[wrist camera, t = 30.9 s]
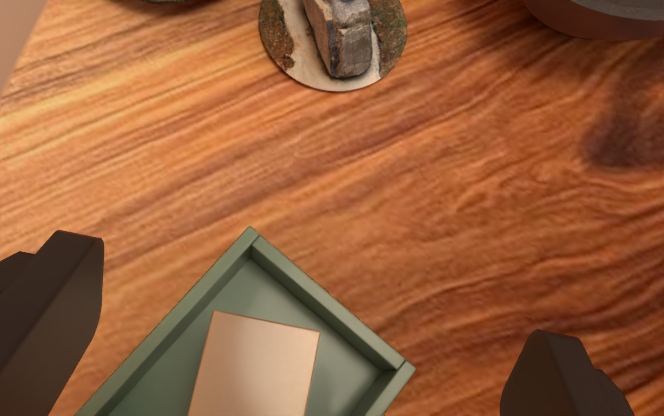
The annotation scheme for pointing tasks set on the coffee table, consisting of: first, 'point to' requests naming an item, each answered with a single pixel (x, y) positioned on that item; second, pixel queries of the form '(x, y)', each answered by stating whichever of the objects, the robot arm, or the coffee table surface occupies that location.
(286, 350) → the eraser
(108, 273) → the coffee table surface
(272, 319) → the tray
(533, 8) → the bowl
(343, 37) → the sculpture
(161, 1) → the lid
